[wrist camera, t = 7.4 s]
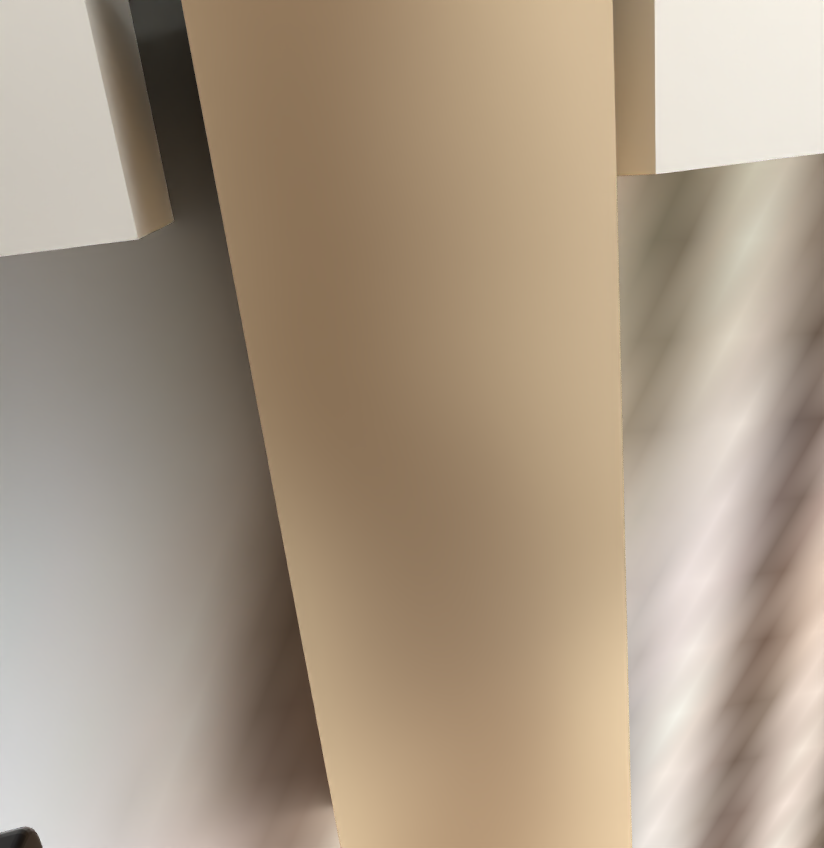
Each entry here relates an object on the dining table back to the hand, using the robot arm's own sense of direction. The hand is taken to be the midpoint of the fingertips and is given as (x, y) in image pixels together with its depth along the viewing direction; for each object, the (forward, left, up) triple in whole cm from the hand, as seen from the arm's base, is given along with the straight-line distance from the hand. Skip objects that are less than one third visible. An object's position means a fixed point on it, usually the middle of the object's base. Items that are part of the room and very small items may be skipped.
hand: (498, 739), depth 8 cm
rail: (0, 0, -7) cm, 7 cm away
